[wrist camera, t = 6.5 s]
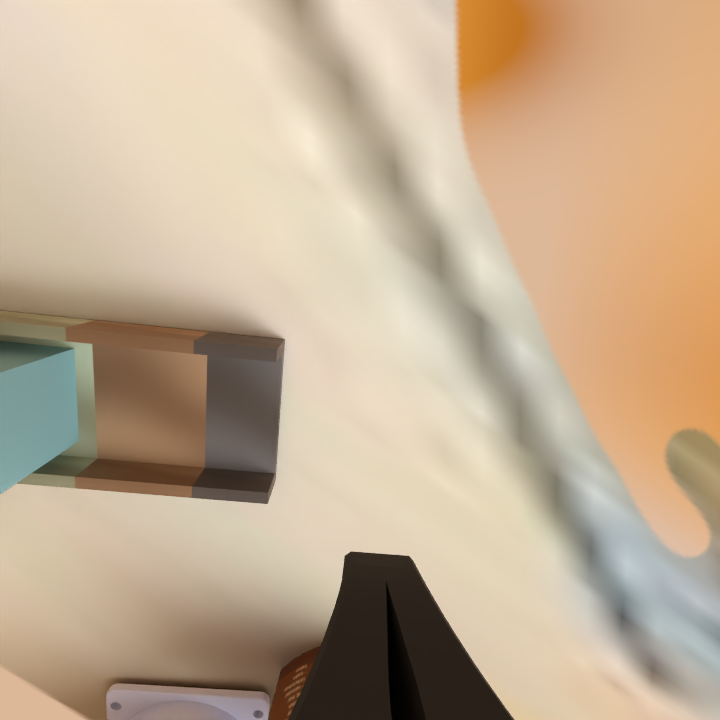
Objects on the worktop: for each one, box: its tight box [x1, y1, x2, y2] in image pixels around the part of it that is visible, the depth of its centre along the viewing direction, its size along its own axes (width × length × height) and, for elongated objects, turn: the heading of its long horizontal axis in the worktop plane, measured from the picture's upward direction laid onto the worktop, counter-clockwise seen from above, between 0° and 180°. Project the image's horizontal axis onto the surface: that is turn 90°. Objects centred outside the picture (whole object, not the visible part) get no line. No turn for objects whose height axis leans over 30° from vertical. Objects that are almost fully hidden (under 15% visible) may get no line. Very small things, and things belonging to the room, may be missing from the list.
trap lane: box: [0, 311, 285, 504], centre depth 16 cm, size 6×16×2 cm, turn 84°
